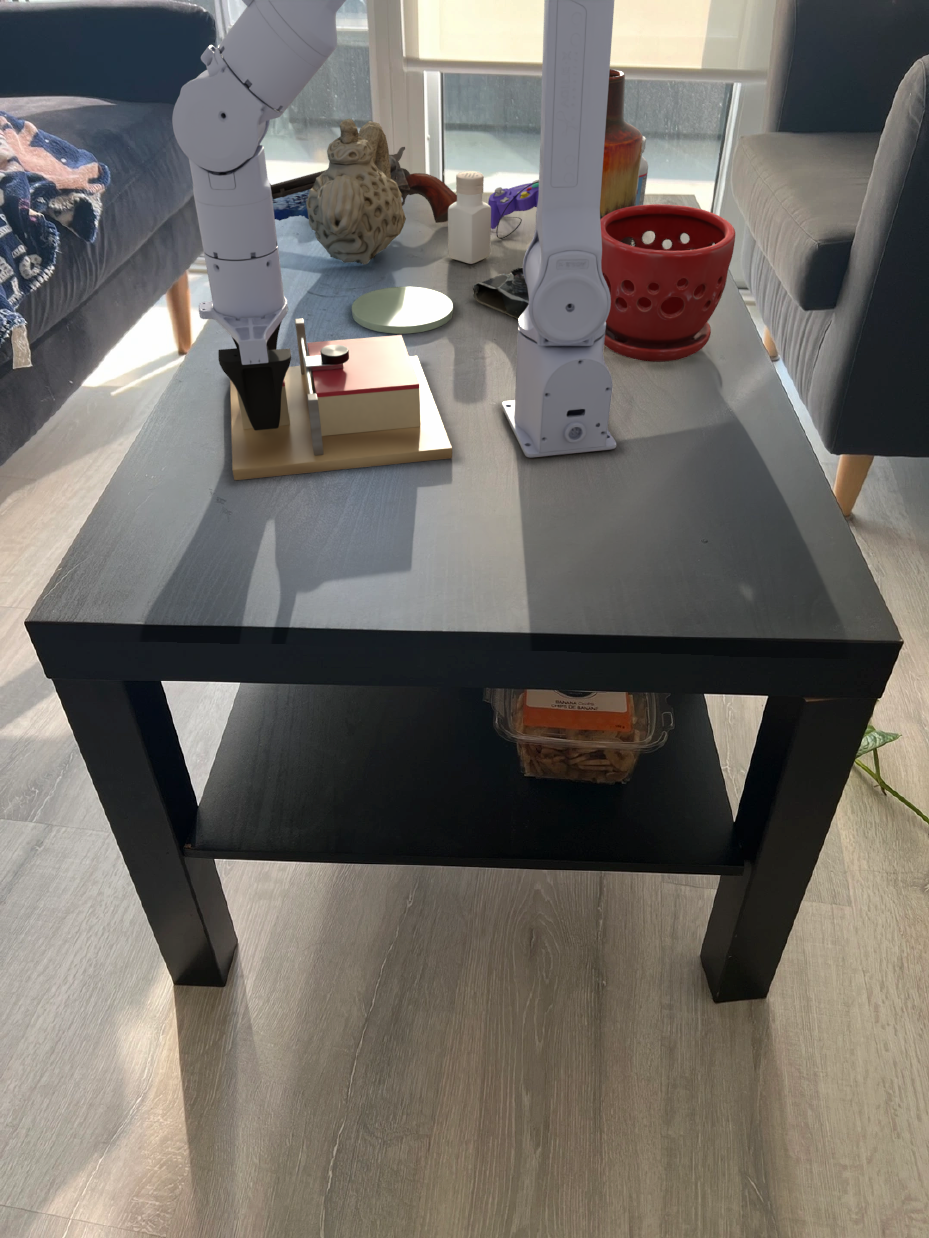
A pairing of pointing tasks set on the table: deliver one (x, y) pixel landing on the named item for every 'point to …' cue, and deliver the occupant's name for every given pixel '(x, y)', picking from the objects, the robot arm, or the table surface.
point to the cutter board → (315, 453)
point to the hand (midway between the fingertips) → (264, 406)
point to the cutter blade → (324, 360)
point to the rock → (291, 205)
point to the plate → (402, 310)
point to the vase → (619, 153)
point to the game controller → (512, 202)
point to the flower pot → (663, 279)
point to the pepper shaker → (469, 220)
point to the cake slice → (283, 415)
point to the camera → (504, 293)
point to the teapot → (356, 196)
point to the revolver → (407, 183)
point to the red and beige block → (367, 387)
